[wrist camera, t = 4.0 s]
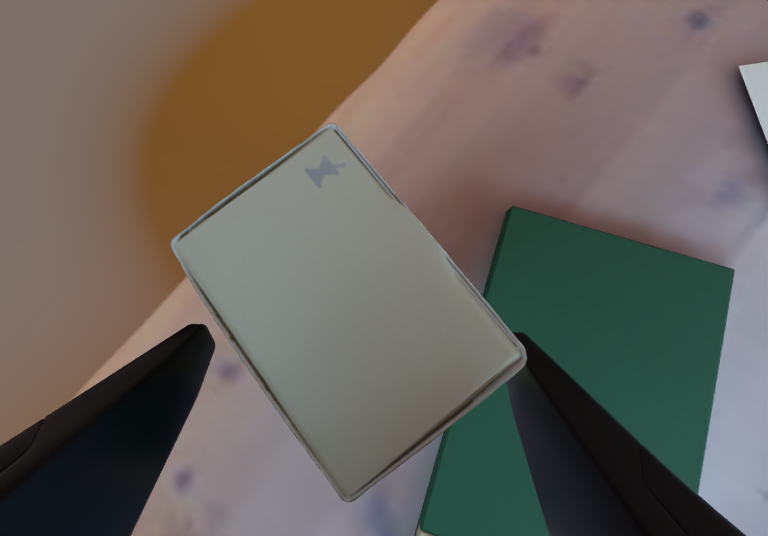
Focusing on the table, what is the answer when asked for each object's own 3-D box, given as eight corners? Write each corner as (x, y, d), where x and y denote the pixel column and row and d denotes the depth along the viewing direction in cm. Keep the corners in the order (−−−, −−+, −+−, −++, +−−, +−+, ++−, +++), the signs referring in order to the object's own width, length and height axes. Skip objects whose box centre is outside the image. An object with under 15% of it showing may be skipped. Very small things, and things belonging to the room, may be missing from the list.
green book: (647, 670, 14) (667, 699, 13) (404, 568, 15) (405, 587, 14) (716, 272, 17) (737, 269, 16) (506, 211, 18) (513, 204, 17)
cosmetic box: (316, 288, 18) (148, 229, 6) (373, 244, 18) (325, 103, 6) (382, 378, 17) (341, 527, 5) (442, 330, 17) (542, 358, 5)
